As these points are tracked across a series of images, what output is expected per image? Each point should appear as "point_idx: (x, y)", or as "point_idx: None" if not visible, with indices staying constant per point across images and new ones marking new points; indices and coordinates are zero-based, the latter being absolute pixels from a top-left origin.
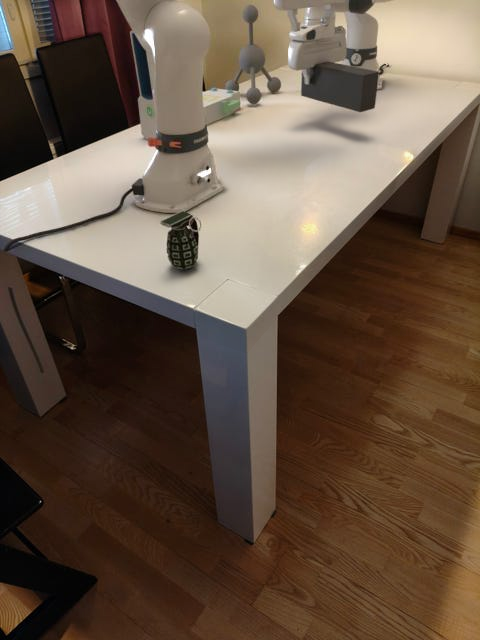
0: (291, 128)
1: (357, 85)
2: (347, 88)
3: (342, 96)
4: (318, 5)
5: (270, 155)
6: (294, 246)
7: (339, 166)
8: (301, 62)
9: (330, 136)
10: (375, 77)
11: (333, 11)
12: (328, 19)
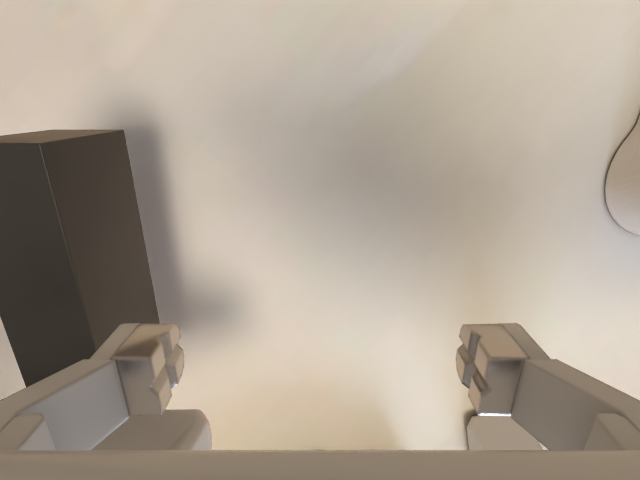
0: (233, 324)
1: (79, 169)
2: (102, 218)
3: (123, 229)
4: (269, 452)
5: (400, 208)
6: None
7: (325, 12)
8: (173, 428)
9: (190, 216)
10: None
11: (10, 396)
12: (120, 350)
